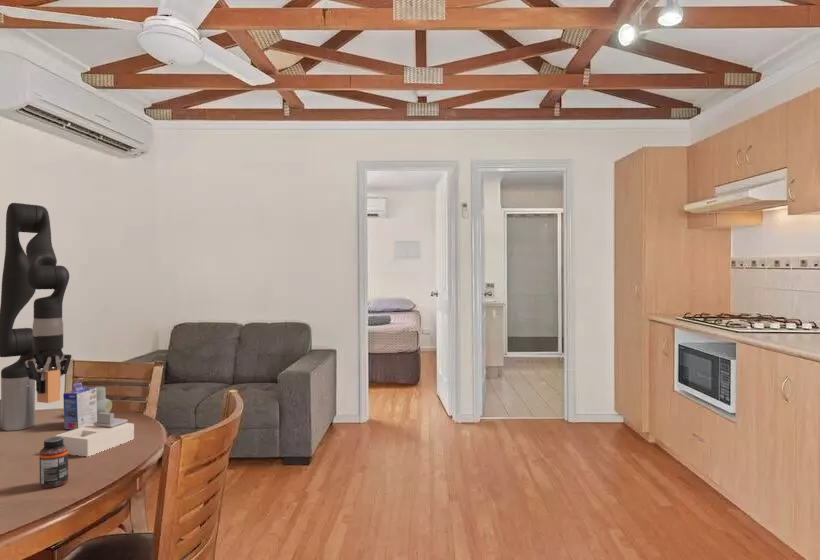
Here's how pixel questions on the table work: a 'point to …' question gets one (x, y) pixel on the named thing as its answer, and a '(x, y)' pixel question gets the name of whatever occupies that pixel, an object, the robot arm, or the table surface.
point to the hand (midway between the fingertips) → (48, 391)
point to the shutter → (108, 420)
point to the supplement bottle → (53, 463)
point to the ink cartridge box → (80, 407)
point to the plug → (50, 387)
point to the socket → (96, 438)
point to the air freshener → (102, 400)
